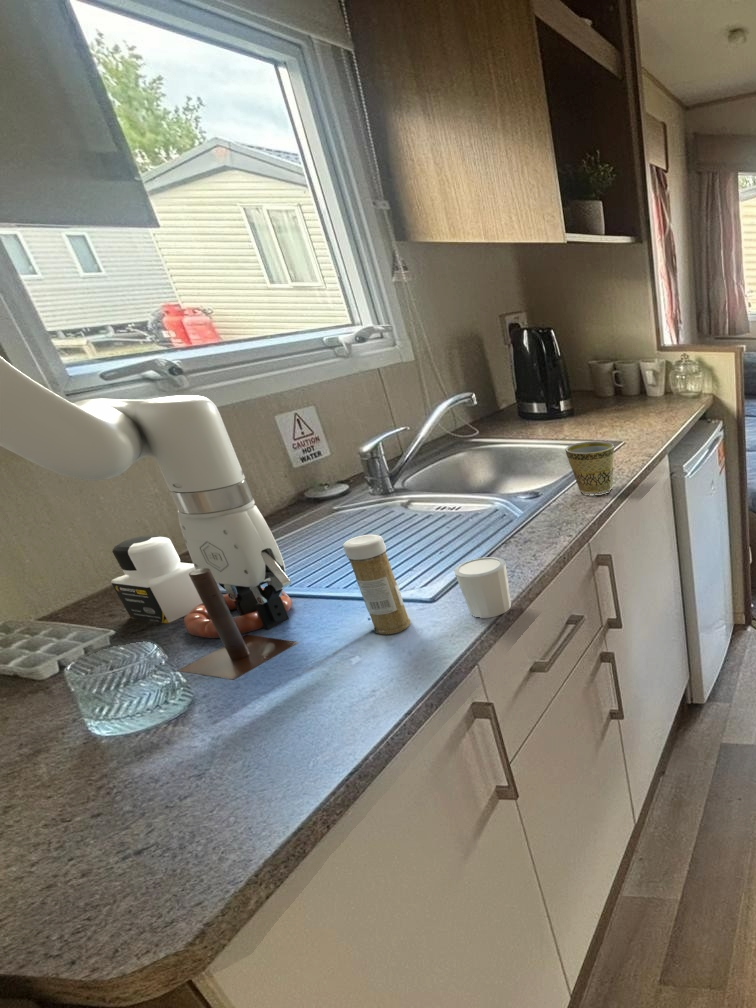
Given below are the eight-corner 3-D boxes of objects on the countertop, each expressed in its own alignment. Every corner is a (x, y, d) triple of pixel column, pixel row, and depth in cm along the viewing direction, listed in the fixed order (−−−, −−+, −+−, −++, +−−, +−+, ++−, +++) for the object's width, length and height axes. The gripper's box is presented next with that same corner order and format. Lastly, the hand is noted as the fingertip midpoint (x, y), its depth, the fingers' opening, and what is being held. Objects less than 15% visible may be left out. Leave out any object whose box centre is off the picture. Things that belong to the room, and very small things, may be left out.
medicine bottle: (133, 624, 94) (90, 548, 88) (185, 602, 100) (147, 528, 94) (171, 630, 92) (129, 552, 87) (221, 606, 99) (185, 532, 93)
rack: (180, 678, 82) (129, 584, 76) (249, 641, 90) (207, 553, 83) (237, 687, 80) (189, 591, 74) (302, 649, 88) (264, 559, 81)
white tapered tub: (467, 602, 99) (455, 560, 96) (515, 594, 101) (505, 553, 98) (464, 623, 93) (451, 579, 90) (515, 615, 95) (504, 571, 92)
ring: (166, 635, 89) (158, 620, 88) (248, 596, 99) (241, 582, 98) (237, 645, 87) (230, 629, 86) (313, 604, 97) (308, 589, 96)
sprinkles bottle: (417, 619, 94) (389, 533, 88) (400, 636, 90) (369, 546, 84) (386, 620, 94) (355, 533, 88) (367, 636, 90) (333, 546, 84)
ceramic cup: (614, 498, 140) (607, 452, 136) (567, 499, 140) (558, 453, 136) (627, 480, 152) (621, 437, 147) (584, 481, 152) (576, 438, 147)
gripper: (132, 501, 82) (194, 629, 90) (235, 512, 78) (290, 644, 87) (194, 484, 88) (247, 604, 97) (292, 493, 85) (338, 617, 93)
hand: (267, 622), depth 92 cm, fingers closed on ring, 2 cm apart
